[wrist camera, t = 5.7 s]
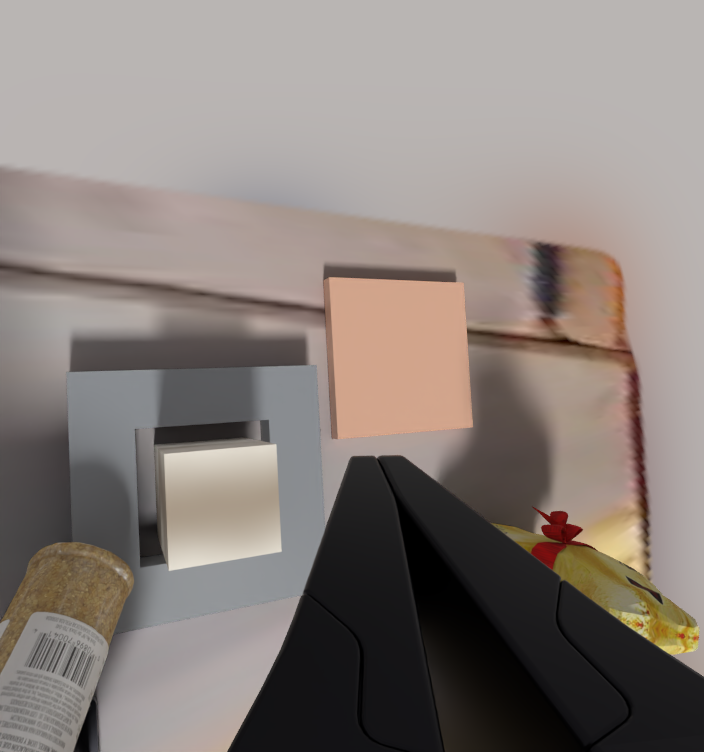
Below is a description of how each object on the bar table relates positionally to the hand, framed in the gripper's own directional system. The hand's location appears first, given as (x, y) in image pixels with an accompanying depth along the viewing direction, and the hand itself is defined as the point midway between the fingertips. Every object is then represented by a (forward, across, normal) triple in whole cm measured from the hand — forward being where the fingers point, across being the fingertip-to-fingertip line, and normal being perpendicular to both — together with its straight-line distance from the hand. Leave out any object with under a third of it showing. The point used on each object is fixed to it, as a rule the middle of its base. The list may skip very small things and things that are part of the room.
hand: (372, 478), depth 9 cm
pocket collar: (+19, +5, +14) cm, 24 cm away
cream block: (+19, +5, +14) cm, 24 cm away
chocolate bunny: (+21, -14, +21) cm, 33 cm away
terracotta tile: (+25, -7, +9) cm, 28 cm away
